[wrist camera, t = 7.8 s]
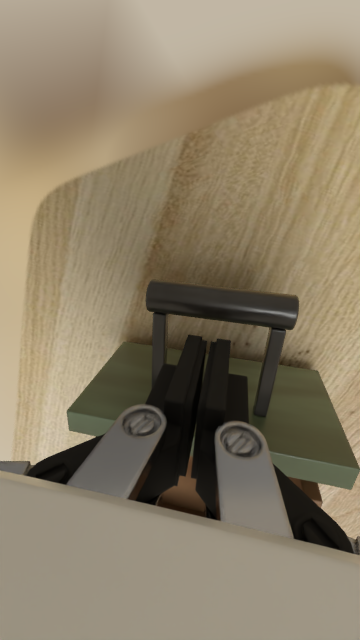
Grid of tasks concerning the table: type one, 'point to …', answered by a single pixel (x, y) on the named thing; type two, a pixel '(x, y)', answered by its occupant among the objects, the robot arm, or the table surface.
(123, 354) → the drawer
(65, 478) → the robot arm
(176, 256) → the table surface
